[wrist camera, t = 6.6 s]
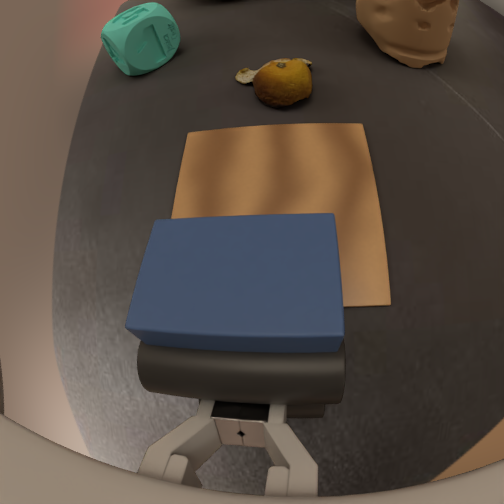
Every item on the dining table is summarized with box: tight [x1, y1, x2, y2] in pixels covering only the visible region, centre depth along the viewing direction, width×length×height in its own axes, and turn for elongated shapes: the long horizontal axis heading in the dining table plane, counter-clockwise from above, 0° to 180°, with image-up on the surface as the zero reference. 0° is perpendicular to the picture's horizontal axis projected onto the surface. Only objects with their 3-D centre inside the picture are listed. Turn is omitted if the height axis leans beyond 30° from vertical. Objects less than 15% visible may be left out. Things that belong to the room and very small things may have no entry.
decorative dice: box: [101, 2, 180, 76], centre depth 31 cm, size 8×8×8 cm
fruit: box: [235, 58, 312, 108], centre depth 26 cm, size 8×8×4 cm
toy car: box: [125, 213, 346, 418], centre depth 13 cm, size 6×6×12 cm
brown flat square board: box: [171, 123, 391, 307], centre depth 23 cm, size 16×16×1 cm
